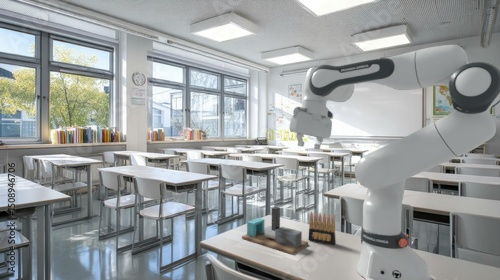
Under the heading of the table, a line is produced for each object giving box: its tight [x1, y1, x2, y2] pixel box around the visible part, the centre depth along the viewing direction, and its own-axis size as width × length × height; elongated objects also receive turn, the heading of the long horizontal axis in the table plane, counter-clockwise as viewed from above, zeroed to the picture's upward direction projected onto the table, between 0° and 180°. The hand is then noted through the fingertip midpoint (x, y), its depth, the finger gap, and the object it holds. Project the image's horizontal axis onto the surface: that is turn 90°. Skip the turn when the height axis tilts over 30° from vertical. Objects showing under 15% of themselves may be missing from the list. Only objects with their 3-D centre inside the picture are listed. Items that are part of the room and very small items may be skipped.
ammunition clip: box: [308, 211, 337, 246], centre depth 119 cm, size 11×2×12 cm, turn 64°
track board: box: [241, 226, 309, 255], centre depth 120 cm, size 24×12×6 cm, turn 50°
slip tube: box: [264, 206, 281, 239], centre depth 117 cm, size 14×3×12 cm, turn 50°
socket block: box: [246, 217, 265, 237], centre depth 126 cm, size 4×7×6 cm, turn 141°
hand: (309, 147), depth 108 cm, fingers open, 8 cm apart
